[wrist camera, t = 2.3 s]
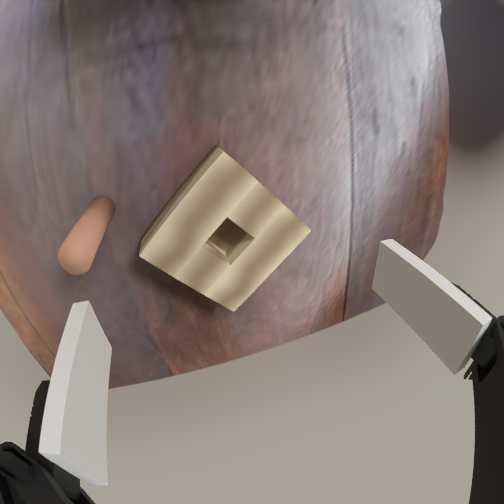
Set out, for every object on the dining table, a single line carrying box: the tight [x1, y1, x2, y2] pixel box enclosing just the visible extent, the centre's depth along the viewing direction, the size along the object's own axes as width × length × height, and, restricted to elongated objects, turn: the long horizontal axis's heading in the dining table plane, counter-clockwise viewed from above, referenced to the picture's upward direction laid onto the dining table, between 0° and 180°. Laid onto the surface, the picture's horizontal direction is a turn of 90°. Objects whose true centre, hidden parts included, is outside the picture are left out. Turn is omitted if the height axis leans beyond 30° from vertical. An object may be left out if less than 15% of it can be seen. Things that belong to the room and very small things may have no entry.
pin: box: [58, 196, 115, 275], centre depth 29 cm, size 4×4×14 cm
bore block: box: [139, 145, 311, 312], centre depth 38 cm, size 16×16×6 cm
